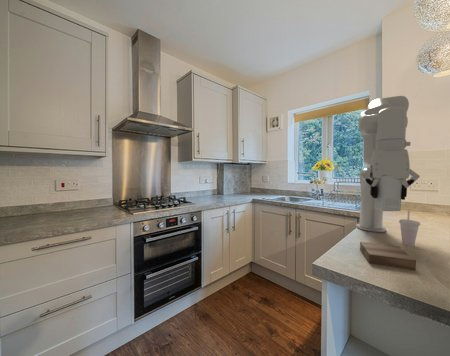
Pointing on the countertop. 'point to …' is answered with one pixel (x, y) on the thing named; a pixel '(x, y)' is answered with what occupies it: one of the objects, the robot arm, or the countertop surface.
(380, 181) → the skincare box
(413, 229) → the smoothie
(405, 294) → the countertop surface
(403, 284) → the countertop surface
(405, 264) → the podium
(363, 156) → the robot arm
